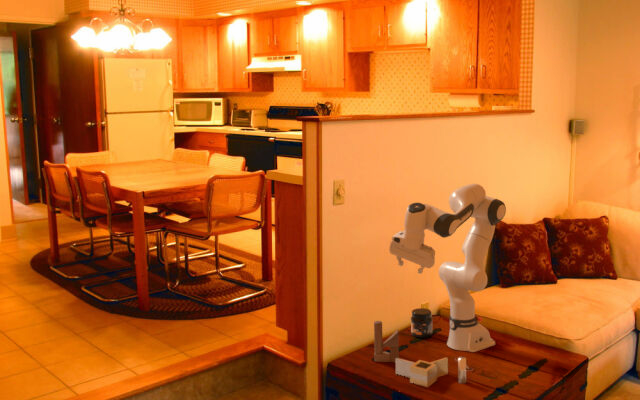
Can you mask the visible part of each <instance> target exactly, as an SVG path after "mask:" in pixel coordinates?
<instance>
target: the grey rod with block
mask: <svg viewBox="0 0 640 400" xmlns="http://www.w3.org/2000/svg"><path fill="white" fill-rule="evenodd" d="M373 336H374V337H373V339H374V340H373V341H374V353H373V361H374V362H376V363H377V362H378V363H395V358H399V357H400V355H399V354H400V353H399V352H400V351H399V329H396V330H395V331H394V332H393V333H392V334H391V335H390V336H389V337H388V338H387V339H386V340H385V341H384V342H383V321H381V320H375V321H374V322H373ZM384 348H389V351H390V352H388V351H383V349H384Z"/></svg>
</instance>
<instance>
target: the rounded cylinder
mask: <svg viewBox="0 0 640 400" xmlns="http://www.w3.org/2000/svg"><path fill="white" fill-rule="evenodd" d="M457 358H458V361H457V382H458V383H459V384H466V383H467V371H466V370H467V369H466V368H467V367H466V364H467V358H466V357H464V356H461V357H460V356H458V357H457Z"/></svg>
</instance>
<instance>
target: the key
mask: <svg viewBox="0 0 640 400" xmlns="http://www.w3.org/2000/svg"><path fill="white" fill-rule="evenodd" d="M459 357H462V356H459ZM459 357H454V358H455V359H454V358H453V360H454V362H457V363H458V358H459ZM456 358H457V359H456ZM474 370H475V369H474V368H473V367H469V365H468V364H467V363H466V372H473V371H474Z"/></svg>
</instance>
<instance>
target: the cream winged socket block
mask: <svg viewBox="0 0 640 400" xmlns="http://www.w3.org/2000/svg"><path fill="white" fill-rule="evenodd" d="M448 361H449V359H448V357H447V356H446V357H442V358H440V359H437V360H433V361H430V362H429V361H426V360H421V359H418V360H417V361H416V362H414V361H410V360H406V359H404V358H395V362H394V363H395V375H397V374H398V376H400V375H401V377H404V376H405V377H404V378H408V379H409V383H410V384H413V383H414V385H417V386H422V387H424V388H429V387H430V386H432V385H433V384H434V383H435V382H437V380H438V378H439V377H442V376H445V375H448V373H449V362H448Z"/></svg>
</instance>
